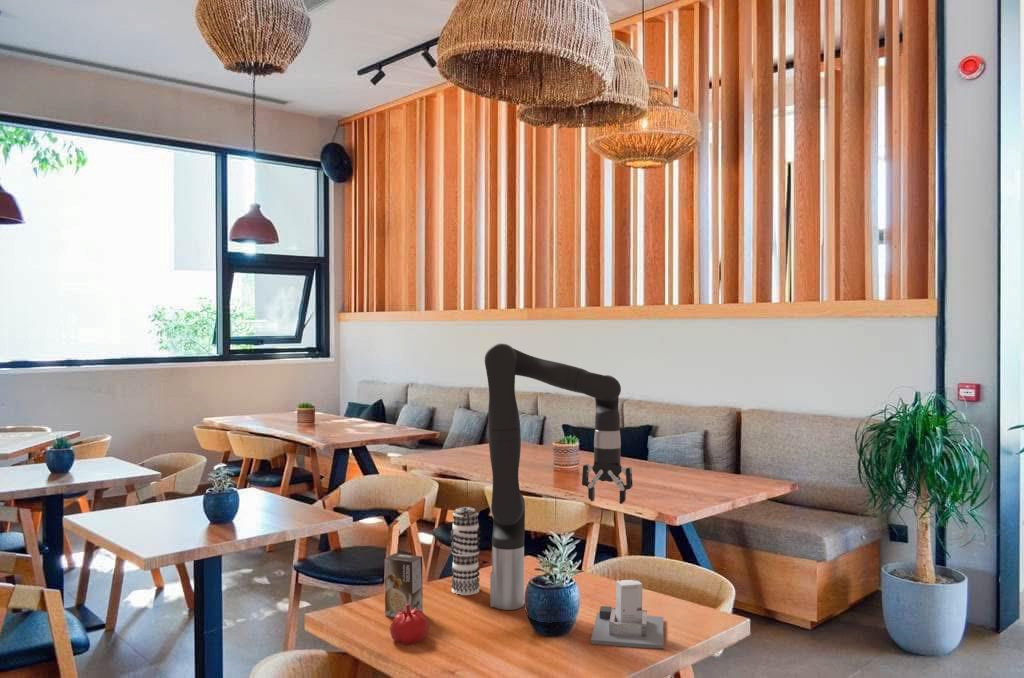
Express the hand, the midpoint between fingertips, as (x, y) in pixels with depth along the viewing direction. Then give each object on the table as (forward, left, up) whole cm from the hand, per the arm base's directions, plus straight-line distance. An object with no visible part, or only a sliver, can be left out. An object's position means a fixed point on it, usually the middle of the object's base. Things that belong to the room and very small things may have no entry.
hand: (606, 502), depth 233 cm
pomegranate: (-48, -34, -30) cm, 66 cm away
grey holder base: (+7, -18, -30) cm, 36 cm away
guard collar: (+7, -18, -30) cm, 36 cm away
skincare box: (+7, -18, -29) cm, 35 cm away
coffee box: (-55, -17, -30) cm, 65 cm away
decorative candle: (-43, +6, -30) cm, 53 cm away
